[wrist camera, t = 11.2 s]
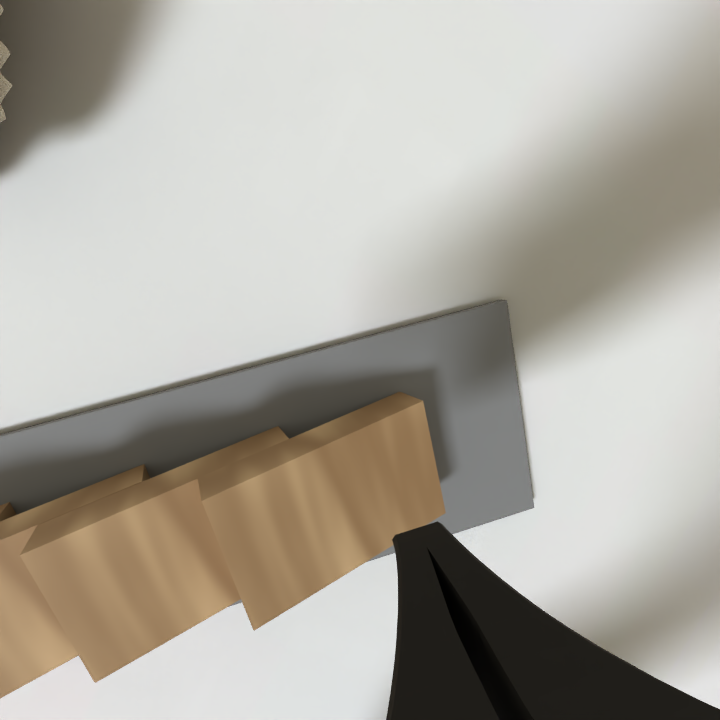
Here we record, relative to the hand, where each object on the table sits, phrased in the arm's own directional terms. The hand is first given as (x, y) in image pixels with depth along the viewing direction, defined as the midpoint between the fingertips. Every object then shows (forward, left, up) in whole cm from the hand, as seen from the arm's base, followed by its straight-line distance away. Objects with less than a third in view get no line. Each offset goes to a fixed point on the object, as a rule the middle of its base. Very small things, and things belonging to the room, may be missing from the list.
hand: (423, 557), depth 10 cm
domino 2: (0, +3, -5) cm, 6 cm away
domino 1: (0, -2, -5) cm, 5 cm away
